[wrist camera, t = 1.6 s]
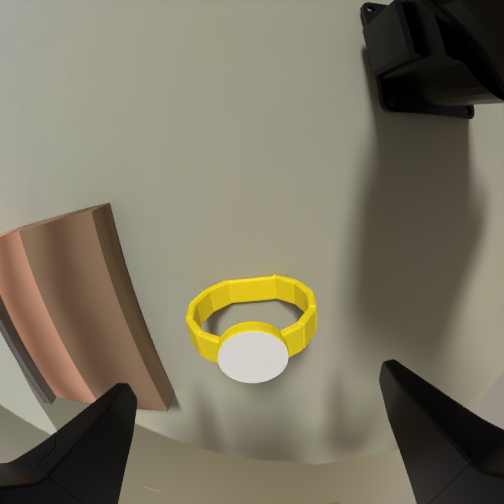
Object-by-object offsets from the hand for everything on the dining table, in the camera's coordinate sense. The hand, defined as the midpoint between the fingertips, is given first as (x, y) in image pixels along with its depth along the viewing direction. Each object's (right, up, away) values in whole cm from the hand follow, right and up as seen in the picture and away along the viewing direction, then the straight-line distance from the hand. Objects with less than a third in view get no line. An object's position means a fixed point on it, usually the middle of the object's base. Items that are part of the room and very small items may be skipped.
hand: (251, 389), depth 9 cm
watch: (0, +3, +7) cm, 8 cm away
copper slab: (-13, 0, +8) cm, 15 cm away
